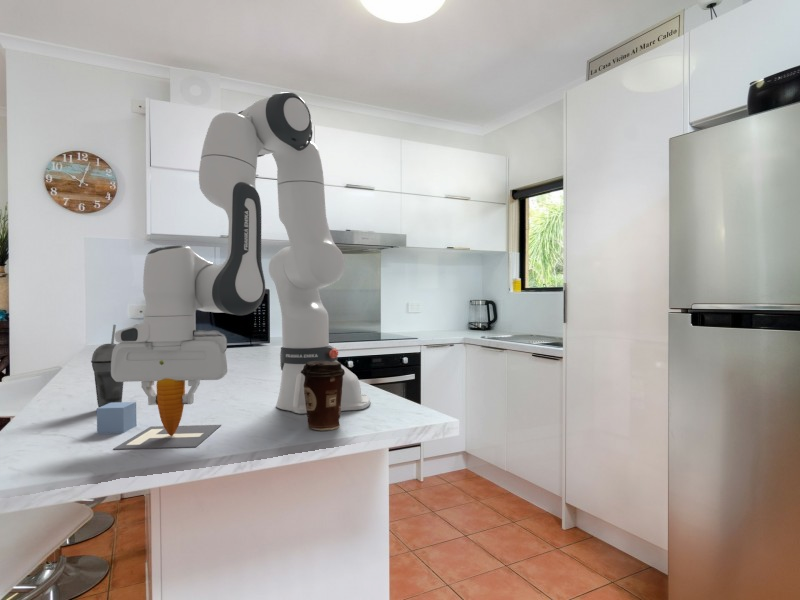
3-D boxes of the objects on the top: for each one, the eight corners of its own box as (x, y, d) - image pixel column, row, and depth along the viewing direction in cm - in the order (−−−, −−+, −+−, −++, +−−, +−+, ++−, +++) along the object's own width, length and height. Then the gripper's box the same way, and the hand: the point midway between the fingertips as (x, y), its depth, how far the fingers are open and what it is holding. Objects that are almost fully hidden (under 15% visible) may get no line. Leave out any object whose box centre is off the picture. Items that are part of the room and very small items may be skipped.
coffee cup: (302, 434, 89) (302, 366, 89) (299, 423, 97) (298, 360, 97) (348, 430, 92) (347, 364, 92) (341, 419, 100) (340, 358, 100)
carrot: (160, 441, 85) (159, 358, 85) (154, 435, 89) (153, 356, 89) (189, 436, 88) (188, 356, 88) (182, 430, 92) (181, 354, 92)
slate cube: (136, 426, 97) (136, 401, 97) (123, 433, 92) (123, 407, 92) (111, 426, 96) (110, 402, 96) (97, 434, 91) (96, 408, 91)
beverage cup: (94, 407, 113) (93, 324, 113) (129, 404, 116) (128, 323, 116) (88, 414, 106) (87, 326, 106) (126, 410, 109) (124, 325, 109)
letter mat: (221, 425, 96) (221, 424, 96) (196, 447, 82) (196, 446, 82) (150, 427, 95) (150, 426, 95) (113, 449, 81) (113, 448, 81)
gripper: (231, 329, 93) (232, 399, 93) (123, 330, 91) (124, 401, 91) (221, 331, 86) (222, 406, 86) (105, 332, 85) (106, 409, 85)
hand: (171, 404), depth 89 cm, fingers closed on carrot, 5 cm apart
